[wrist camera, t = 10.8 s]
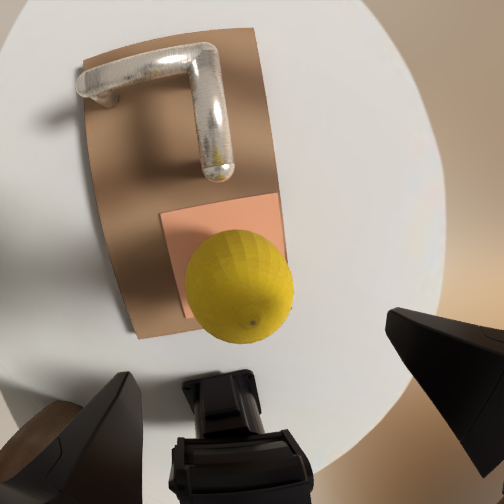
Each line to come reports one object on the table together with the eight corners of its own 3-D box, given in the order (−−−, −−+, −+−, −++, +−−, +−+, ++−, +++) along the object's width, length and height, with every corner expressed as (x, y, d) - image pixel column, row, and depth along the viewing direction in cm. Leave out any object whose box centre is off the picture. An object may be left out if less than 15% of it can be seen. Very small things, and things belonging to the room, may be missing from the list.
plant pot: (2, 376, 18) (-48, 471, 3) (91, 366, 20) (45, 520, 5) (70, 452, 23) (54, 540, 8) (159, 452, 24) (163, 564, 9)
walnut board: (288, 303, 21) (291, 309, 20) (140, 332, 20) (138, 339, 19) (250, 33, 15) (253, 27, 14) (88, 64, 13) (83, 60, 12)
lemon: (174, 280, 18) (164, 354, 10) (208, 204, 17) (216, 231, 9) (248, 307, 19) (278, 383, 12) (283, 238, 18) (340, 285, 11)
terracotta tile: (288, 295, 20) (289, 297, 20) (186, 317, 19) (186, 318, 19) (276, 192, 18) (277, 192, 17) (160, 213, 17) (160, 213, 16)
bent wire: (228, 178, 17) (239, 180, 12) (113, 202, 16) (85, 213, 11) (212, 68, 14) (218, 35, 10) (99, 93, 13) (71, 71, 9)
